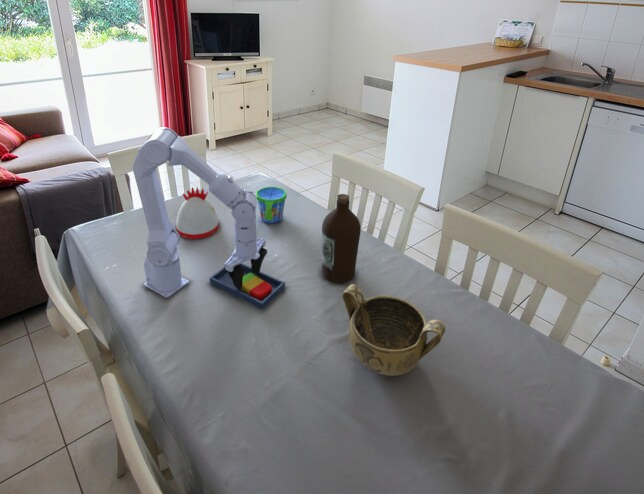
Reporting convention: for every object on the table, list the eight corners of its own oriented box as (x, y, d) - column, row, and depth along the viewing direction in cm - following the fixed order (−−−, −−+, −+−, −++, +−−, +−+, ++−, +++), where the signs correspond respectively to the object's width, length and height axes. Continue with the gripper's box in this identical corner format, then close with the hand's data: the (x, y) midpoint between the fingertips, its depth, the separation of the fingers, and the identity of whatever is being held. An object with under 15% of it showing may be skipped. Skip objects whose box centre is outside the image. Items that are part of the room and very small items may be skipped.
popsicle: (259, 302, 111) (259, 296, 110) (222, 277, 120) (221, 271, 120) (274, 292, 115) (274, 286, 114) (237, 268, 124) (236, 263, 123)
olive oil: (345, 259, 130) (350, 185, 120) (363, 280, 121) (371, 201, 111) (313, 267, 126) (316, 191, 116) (330, 289, 117) (334, 209, 107)
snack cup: (262, 206, 159) (262, 182, 155) (290, 209, 158) (290, 184, 154) (251, 228, 145) (250, 201, 141) (281, 231, 143) (281, 205, 140)
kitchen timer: (214, 239, 139) (211, 198, 133) (171, 238, 139) (167, 197, 133) (221, 217, 152) (219, 179, 146) (182, 216, 152) (179, 178, 146)
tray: (209, 283, 118) (209, 277, 118) (234, 265, 126) (234, 259, 126) (262, 310, 109) (262, 303, 109) (285, 288, 117) (285, 282, 116)
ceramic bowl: (446, 358, 96) (457, 305, 90) (418, 415, 83) (429, 357, 78) (358, 315, 108) (362, 266, 102) (321, 359, 95) (324, 306, 89)
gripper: (239, 255, 104) (241, 300, 109) (274, 229, 115) (274, 270, 121) (217, 246, 108) (220, 289, 113) (253, 221, 119) (254, 262, 124)
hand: (247, 279), depth 117 cm, fingers open, 7 cm apart
